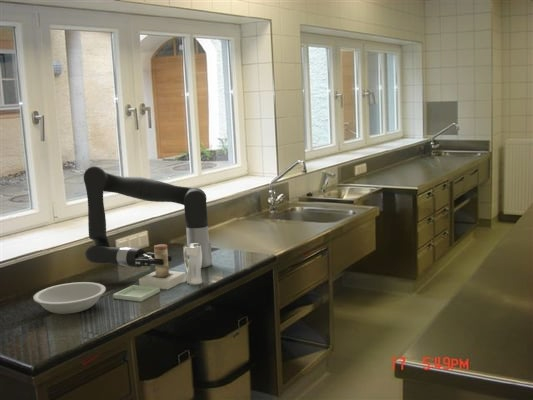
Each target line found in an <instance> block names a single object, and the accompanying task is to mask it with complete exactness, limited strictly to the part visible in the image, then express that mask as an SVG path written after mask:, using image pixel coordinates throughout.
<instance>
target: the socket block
mask: <svg viewBox="0 0 533 400" xmlns="http://www.w3.org/2000/svg"><path fill="white" fill-rule="evenodd" d="M185 282H187V271H175V270H169V277H167V278H156V270H155V271H153V272H151V273H149V274H145V275H143V276H142V277H139V278H138V283H139V284H138V285H140V286H150V287H159V288H160V290H162V289H163V290H169V289H171V288H174V287H175V286H177V285H179V284H182V283H185Z"/></svg>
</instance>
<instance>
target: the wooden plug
mask: <svg viewBox="0 0 533 400" xmlns="http://www.w3.org/2000/svg"><path fill="white" fill-rule="evenodd" d="M153 250H154V251H153V253H154V254H155V258H156V259H163V260H164V265H154V266H155V271H156V278H167V277H169V271H170V269H169V261H168V254H169V253H168V245H167V244H163V243H160V244H156V245H154V246H153Z"/></svg>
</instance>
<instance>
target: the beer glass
mask: <svg viewBox="0 0 533 400" xmlns="http://www.w3.org/2000/svg"><path fill="white" fill-rule="evenodd" d="M183 261H184V266H185V269H186V284H187V285H188V284H189V286H197V285H200V284H202V283H203V279H202V274H201V273H202V268H201V265H202V251H201V245H200V244H196V243H193V244H186V243H185V245H183Z"/></svg>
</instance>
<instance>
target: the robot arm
mask: <svg viewBox="0 0 533 400" xmlns="http://www.w3.org/2000/svg"><path fill="white" fill-rule="evenodd" d="M83 182H84V185H85V191H86V196H87V197H86V198H87V209H88V210H87V211H88V213H87V214H88V215H87V217H88V219H87V222H88V223H87V226H88V238H89V239H90V240H92V241H93V242H94V245H91V246H89V247H88V248H86V251H85V252H84V253H85V254H84V255H85V258H86V260H87V261H88V262H90V263H93V264H111V265H115V266H116V265H117V266H118V265H119V266H122V267H123V266H124V267H131V268H142V267H151V266H155V265H164V260H163V259H156V258H155V254H154V252H145V250H144V249H143V248H139V247H120V246H118V247H117V246H113V247H112V246H110V242H109V238H108V236H107V219H106V212H105V204H104V192H106V193H107V192H108V193H113V194H119V195H123V196H126V197H130V198H134V199H138V200H142V201H147V202H153V203H154V202H155V203H174V204H178V205H182V206H183V207H184V208H183V210H184V219H185V220H184V221H185V230H186V243H187V244H193V243H196V244H200V245H201V251H202V265H201V269H203V268H207V267H209V266H212V265H213V260H212V259H213V257H212V256H213V255H212V243H211V242H210V240H209V223H208V221H209V220H208V206H207V195H206V193H205V191H204V190H203V189H201V188H198V187H189V186H180V185H179V186H178V185H176V184H170V183H168V182H164V181H160V180H157V179H152V178H147V177H142V176H121V175H115V174H112V173H109V172H106V171H105V170H104V169H103V168H101V167H100V166H97V165H95V166H90V167H88V168H86V170H85V171H84V173H83ZM172 261H173V258H172V255H170V254H169V255H168V262H172Z"/></svg>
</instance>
